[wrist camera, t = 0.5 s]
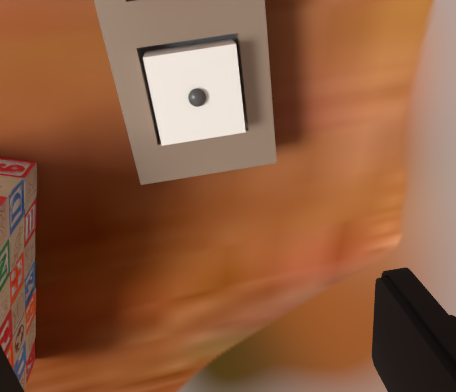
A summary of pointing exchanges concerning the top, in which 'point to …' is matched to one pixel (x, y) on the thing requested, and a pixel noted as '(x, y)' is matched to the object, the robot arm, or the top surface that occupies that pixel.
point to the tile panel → (181, 36)
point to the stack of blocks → (18, 264)
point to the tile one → (195, 91)
